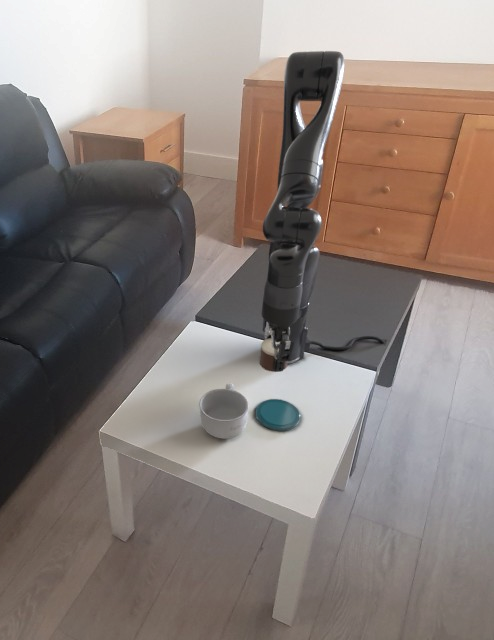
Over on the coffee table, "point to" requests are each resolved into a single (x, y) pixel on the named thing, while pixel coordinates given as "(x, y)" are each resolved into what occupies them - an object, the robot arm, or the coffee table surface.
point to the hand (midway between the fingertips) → (273, 361)
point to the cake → (268, 355)
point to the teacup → (223, 412)
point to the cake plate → (277, 415)
